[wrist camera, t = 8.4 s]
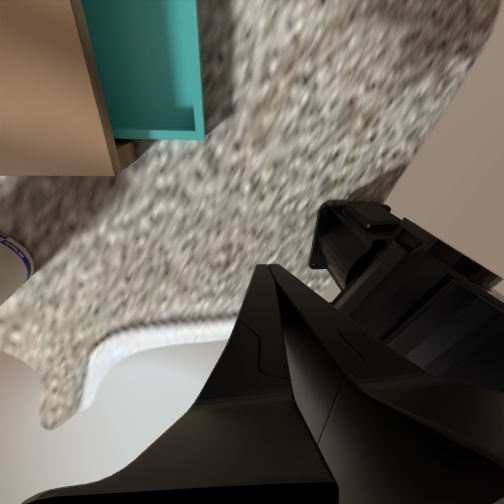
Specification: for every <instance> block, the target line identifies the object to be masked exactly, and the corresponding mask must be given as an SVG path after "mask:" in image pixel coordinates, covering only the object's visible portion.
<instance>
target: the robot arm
mask: <svg viewBox="0 0 504 504" xmlns="http://www.w3.org/2000/svg"><path fill="white" fill-rule="evenodd" d="M326 209H327V211H326V212H325V213H323V211H324V210H326ZM390 211H391V208H390V207H389V206H388V205H385V204H376V203H374V202H346V203H345V204H344V205H323V206H321V207H320V208H319V210H318V216H317V221H316V226H315V232H314V237H313V243H312V248H311V253H310V259H309V266H310V268H311V269H327V270H328V272H329V273H330V275H331V276H332V278H333V279H334V281H335V282H336V284H337V286H338V287H339V288H340V290H341V292H340V293H339V295H338V296H337V297H336V298H335V299H334V300H333V301H332V302H330V303H329V302H327V301H326V300H325V299H323V298H322V297H321V296H320V295H318V294H317V293H316V292H314V291H313V290H312V289H310V288H309V287H308V286H307V285H305V284H304V283H303V282H301V281H300V280H299V279H297V278H296V277H295V276H294V275H292V274H291V273H290V272H288V271H287V270H286V269H284V268H283V267H282V266H281V265H279V264H268V265H266V264H258V265H256V267H255V270H254V272H253V275H252V278H251V281H250V284H249V286H248V289H247V292H246V295H245V298H244V300H243V303H242V306H241V309H240V312H239V314H238V317H237V320H236V322H235V325H234V328H233V330H232V333H231V335H230V338H229V340H228V343H227V345H226V347H225V349H224V350H223V352H222V354H221V356H220V358H219V360H218V362H217V363H216V365H215V367H214V369H213V371H212V372H211V374H210V376H209V378H208V380H207V382H206V383H205V385H204V387H203V389H202V390H201V392H200V394H199V396H198V397H197V399H196V400H195V402H194V403H193V405H192V406H191V407H190V408H189V410H188V411H187V412H186V413H185V414H184V415H183V416H182V417H181V418H180V419H178V420H177V421H176V422H175V423H174V424H173V425H172V426H171V427H170V428H169V429H168V430H166V431H165V432H164V433H163V434H162V435H161V436H160V437H159V438H158V439H157V440H155V441H154V442H153V443H152V444H151V445H150V446H149V447H148V448H147V449H146V450H145V451H144V452H142V453H141V454H140V455H139V456H138V457H137V458H136V459H135V460H134V461H132V462H131V463H130V464H129V465H127V466H126V467H125V468H123V469H122V470H120V471H118V472H116V473H115V474H113V475H111V476H109V477H106V478H104V479H102V480H99V481H96V482H92V483H88V484H82V485H74V486H67V487H61V488H55V489H50V490H47V491H44V492H41V493H38V494H36V495H34V496H32V497H30V498H28V499H26V500H25V501H24V502H23V503H22V504H504V296H503V295H501V294H499V293H498V292H497V291H495V290H494V289H492V288H493V287H495V286H496V285H497V284H499V283H500V282H501V281H502V280H504V279H503V278H501V277H500V276H498V275H497V274H495V273H493V272H492V271H490V270H489V269H487V268H486V267H484V266H483V265H481V264H480V263H478V262H476V261H475V260H473V259H472V258H470V257H468V256H467V255H465V254H464V253H462V252H460V251H459V250H457V249H455V248H454V247H452V246H451V245H449V244H447V243H446V242H444V241H442V240H441V239H439V238H438V237H436V236H434V235H433V234H431V233H429V232H427V231H426V230H424V229H423V228H421V227H419V226H418V225H416V224H415V223H413V222H411V221H409V220H408V219H406V218H403V220H401V219H399V218H398V217H396V216H394V215H393V214H391V213H390ZM314 263H316V264H315V265H313V264H314Z"/></svg>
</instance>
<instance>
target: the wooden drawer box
mask: <svg viewBox="0 0 504 504" xmlns="http://www.w3.org/2000/svg"><path fill="white" fill-rule="evenodd" d="M136 160H137V156H136V151H135V146H134V141H114V137H113V132H112V128H111V124H110V120H109V116H108V111H107V107H106V103H105V99H104V95H103V90H102V86H101V82H100V78H99V74H98V69H97V65H96V61H95V57H94V53H93V48H92V44H91V40H90V36H89V32H88V27H87V23H86V19H85V15H84V11H83V6H82V2H81V0H0V176H115V175H117V174H118V173H119V172H121V171H122V170H123V169H125V168H126V167H127V166H129V165H130V164H132V163H133V162H134V161H136Z"/></svg>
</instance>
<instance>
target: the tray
mask: <svg viewBox="0 0 504 504" xmlns="http://www.w3.org/2000/svg"><path fill="white" fill-rule="evenodd" d="M81 2H82V6H83V11H84V15H85V19H86V23H87V27H88V32H89V36H90V40H91V44H92V48H93V53H94V57H95V61H96V65H97V69H98V74H99V78H100V82H101V86H102V90H103V95H104V99H105V103H106V107H107V111H108V116H109V120H110V124H111V128H112V132H113V137H114V138H118V139H166V140H205V137H206V128H205V111H204V94H203V76H202V59H201V42H200V25H199V8H198V0H81Z"/></svg>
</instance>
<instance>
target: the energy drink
mask: <svg viewBox="0 0 504 504" xmlns="http://www.w3.org/2000/svg"><path fill="white" fill-rule="evenodd" d="M33 272H34V263H33V260H32V257H31V255H30V253H29V252H28V251H27V249H26V248H25V247H24V246H23V245H21V244H20V243H19V242H17V241H16V240H14V239H13V238H11V237H9V236H6V235H4V234H1V233H0V306H1V305H2V304H3V303H4V302H5V301H6V300H7V299H8V298H9V297H10V296H11V295H13V294H14V293H15V292H16V291H17V290H18V289H19V288H20V287H21V286H22V285H23V284H24V283H25V282H26V281H27V280H28V279H29V278H30V277H31V276H32V274H33Z"/></svg>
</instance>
